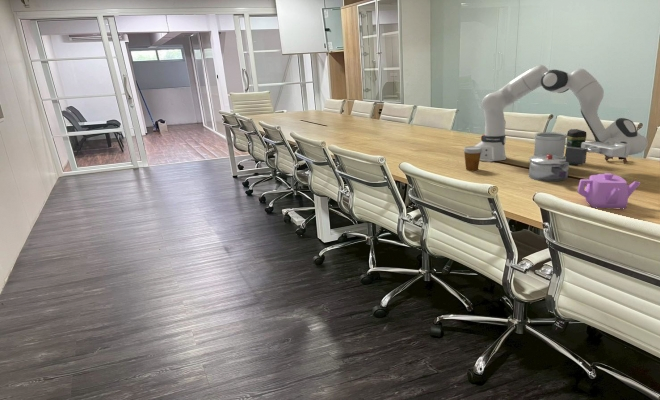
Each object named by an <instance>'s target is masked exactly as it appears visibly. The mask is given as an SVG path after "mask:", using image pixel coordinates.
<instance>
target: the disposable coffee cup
mask: <svg viewBox="0 0 660 400" xmlns="http://www.w3.org/2000/svg"><path fill="white" fill-rule="evenodd" d="M462 151H463V153H464V161H465V170H466V171H468V170H469V172H471V171H472V172H474V171H478V170H479V166H480V162H481V161H480V155H481V151H482V150H481V147H475V145H474V146H473V145H472V146H466V147H464V149H463V150H462Z"/></svg>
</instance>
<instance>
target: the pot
mask: <svg viewBox="0 0 660 400" xmlns="http://www.w3.org/2000/svg"><path fill="white" fill-rule="evenodd" d="M569 165H570V164H569V163H566V164H557V165H549V164H538V163H534V162H531V161H530V160H529V171H528V178H530V179H532V180H535V181H542V182H561V181H566V180H567V179H568V177H569V176H568V174H569V168H570V167H569Z"/></svg>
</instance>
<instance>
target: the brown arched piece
mask: <svg viewBox="0 0 660 400" xmlns="http://www.w3.org/2000/svg"><path fill="white" fill-rule="evenodd" d="M604 157H605V158H604V160H605V161H606V162H608V161H609V160H610V159H612V160H614V157H608V156H606V155H604ZM617 158H618V160H621V161H622V162H623V164H624V165H625V164H627V163H628V160H627V158H622V157H617Z"/></svg>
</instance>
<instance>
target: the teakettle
mask: <svg viewBox="0 0 660 400" xmlns="http://www.w3.org/2000/svg"><path fill="white" fill-rule="evenodd" d="M588 178H589V179H587V178H585V179H580V180H579V183H578V187H577V192H576V193H578V195H581V196H582V197H584V198H585V199H584V200H585V202H586V203H587V202H588V203H589V204H590V205H591V206H593V207H592V208H594V209H597V208H620V209H619V210H626V208H627V206H628V202H629V201H628V200H629V198H630V197H631V195H632V194H634V192H635V191H636V189H637V188H638V187H639V186H640V184H641V182H640V181H635V180H633V182H632V183H630V184H629V185H628V182H627V181H626V180H625V178H623V177H621V176H619V175H616V174H613V173H610V172H605V173H598V174H591V175H589V177H588ZM588 203H587V204H588ZM589 204H588V205H589ZM590 205H589V206H590ZM591 206H590V207H591ZM596 207H597V208H596ZM623 208H624V209H623Z"/></svg>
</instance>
